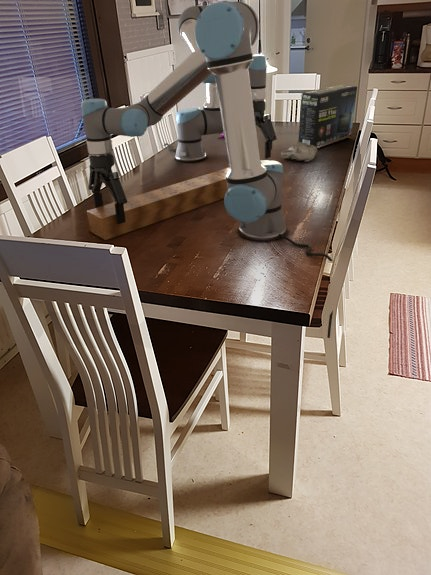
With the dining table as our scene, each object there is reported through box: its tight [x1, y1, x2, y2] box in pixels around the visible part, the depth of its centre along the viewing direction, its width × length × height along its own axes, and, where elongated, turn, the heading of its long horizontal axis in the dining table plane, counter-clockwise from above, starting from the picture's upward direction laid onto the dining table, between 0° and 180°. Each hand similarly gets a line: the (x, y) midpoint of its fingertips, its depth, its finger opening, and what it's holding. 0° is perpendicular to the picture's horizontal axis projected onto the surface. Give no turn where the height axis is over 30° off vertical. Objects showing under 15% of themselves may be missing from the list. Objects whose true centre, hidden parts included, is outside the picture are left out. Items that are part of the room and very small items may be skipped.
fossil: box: [280, 141, 318, 163], centre depth 221 cm, size 18×11×15 cm
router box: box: [297, 84, 358, 147], centre depth 238 cm, size 36×11×27 cm, turn 134°
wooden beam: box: [86, 166, 230, 241], centre depth 173 cm, size 81×10×8 cm, turn 132°
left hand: (255, 155), depth 188 cm, fingers open, 13 cm apart
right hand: (110, 217), depth 153 cm, fingers open, 13 cm apart
